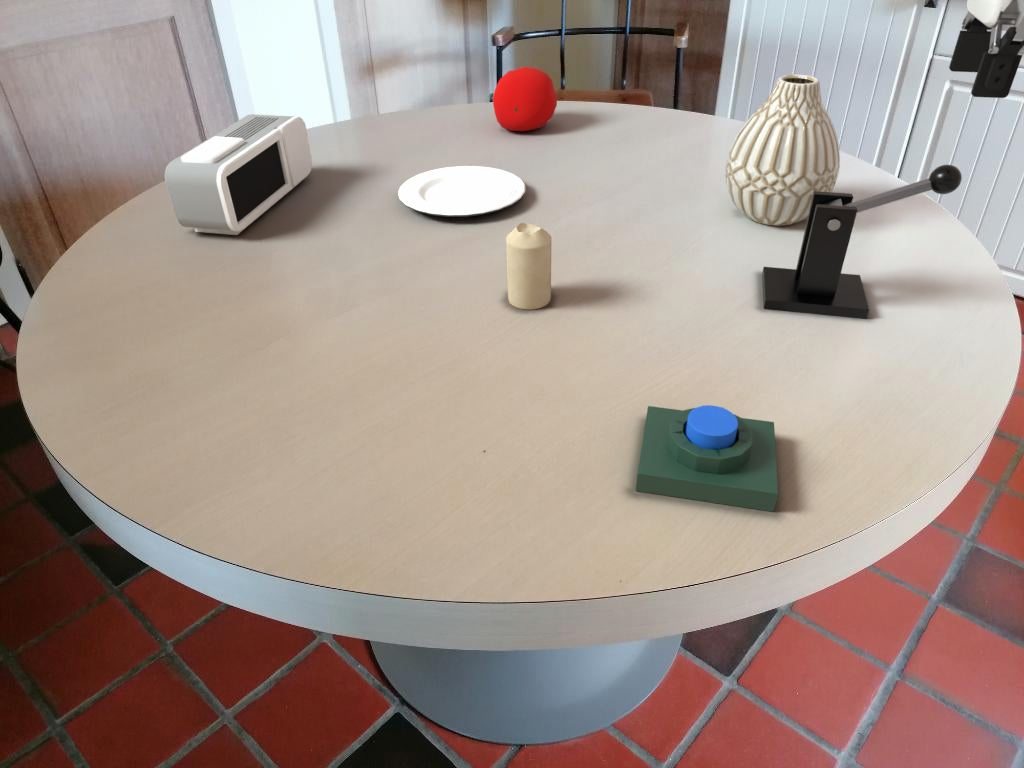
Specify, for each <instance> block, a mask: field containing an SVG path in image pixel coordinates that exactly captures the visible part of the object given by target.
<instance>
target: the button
mask: <svg viewBox="0 0 1024 768" xmlns="http://www.w3.org/2000/svg"><path fill="white" fill-rule="evenodd" d="M694 408H695V409H693V410H692V411H691V412H690V413H689V415H688V420H687V427H686V435H687V438H688V439H689V440H690V442H692V443H693V444H695V445H697V446H699V447H701V448H704V449H711V450H721V449H725V448H728V447H730V446H731V445H732V444H733V443H734V441H735V438H736V433H737V428H738V421H737V418H736V417H735V415H736V414H734V413H733V412H731V411H729V410H728V409H726V408H724V407H723V406H718V405H713V404H712V405H711V404H708V405H700V406H697V407H694Z"/></svg>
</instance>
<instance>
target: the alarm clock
mask: <svg viewBox="0 0 1024 768" xmlns="http://www.w3.org/2000/svg"><path fill="white" fill-rule="evenodd" d="M312 167H313V157H312V153H311V147H310V140H309V135H308V130H307V125H306V123H305V121H304V119H303V118H302V117H301V116H295V115H294V116H293V115H290V116H289V115H272V114H254V113H251V114H247V115H246V116H244V117H242V118H240V119H239V120H237V121H235V122H234V123H232V124H230V125H229V126H227V127H226V128H224V129H222V130H220V131H219V132H217V133H216V134H214V135H212V136H211V137H209V138H207V139H206V140H204V141H202V142H201V143H199V144H197V145H196V146H194V147H192V148H190V149H189V150H188V151H185V152H184V153H182V154H181V155H179V156H177V157H176V158H174V159H172V160H170V162H169V163H168V164H167V165H166V167H165V170H164V180H165V185H166V189H167V192H168V195H169V199H170V202H171V205H172V209H173V212H174V215H175V218H176V220H177V222H178V223H179V224H180V225H181V226H182V227H184V228H193V229H194V231H195V232H196V233H207V234H217V235H220V234H221V235H232V236H238V235H239V234H240V233H241V232H243V231H244V230H245V229H246V228H247V227H249V226H250V225H251V224H252V223H253V222H254V221H256V220H257V219H258V218H260V216H263V214H265V212H266V211H268V210H269V209H270V208H271V207H273V206H274V205H275V204H276V203H277V202H278V201H280V200H281V199H282V198H283V197H284V196H286V195H287V194H288V193H289V192H290V191H292V190H293V189H294V188H295V187H297V185H299V184H300V183H301V182H302V181H303V180H304V179H305V178H307V177H308V176H309V175H310V174H311V171H312V169H313V168H312Z"/></svg>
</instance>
